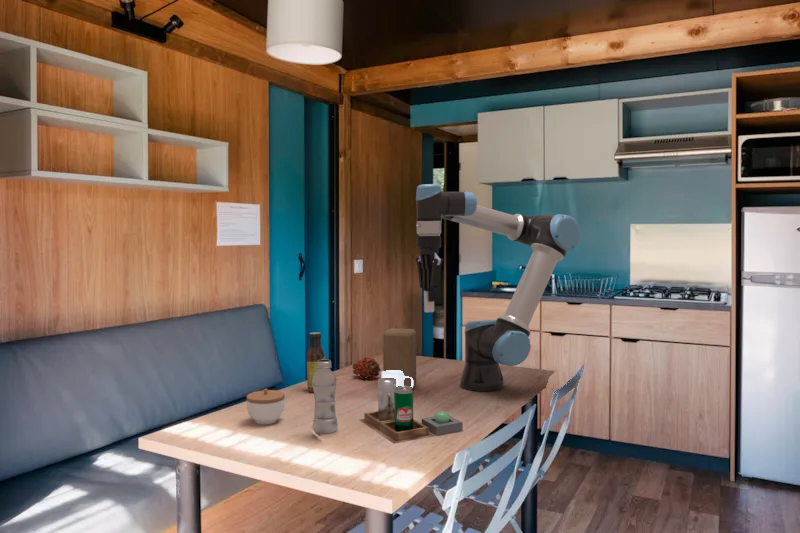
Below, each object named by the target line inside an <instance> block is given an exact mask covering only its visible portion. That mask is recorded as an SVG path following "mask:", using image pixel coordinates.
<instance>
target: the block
mask: <svg viewBox="0 0 800 533" xmlns="http://www.w3.org/2000/svg"><path fill="white" fill-rule="evenodd" d="M382 346H383V347H382V354H383V355H382V356H383V357H382V361H383V362H382V365H383V367H382V368H383V371H386V370H401V371H403V373H404V375H405V376H409V377H412V378H413V380H414V387H415V386H416V384H417V331H416V329H415V328H392V327H390V328H389V329H387V330H386V331H384V332H383V334H382ZM383 371H382V372H383ZM404 386H411V379H410V378H405V380H404Z"/></svg>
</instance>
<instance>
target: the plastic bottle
mask: <svg viewBox="0 0 800 533" xmlns="http://www.w3.org/2000/svg"><path fill="white" fill-rule="evenodd" d="M317 368H318V370H317V372H316V373H315V375H314V376H313V379H312V384H313V390H314V392H313V396H314V397H313V398H314V417H313V423H312V428H313V432H314V433H315V435H318V436H321V435H327V434H329V435H330V434H333V433H336V432H337V431H338V425H339V424H338V419H337V414H336V404H335V403H336V400H335V399H336V390H337V389H336V388H337V377H336V375H335V373H334V372H333V371H332V370H331V368H332V361H331V359H326V358H325V359H323V360H318V361H317Z"/></svg>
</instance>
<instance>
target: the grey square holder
mask: <svg viewBox="0 0 800 533" xmlns="http://www.w3.org/2000/svg"><path fill="white" fill-rule="evenodd" d="M421 424H423V425H425V426H427V427H428V428H429V433H431V434H433V435H434V436H436V437H437V436H442V435H448V434H453V433H459V432H463V430H464V429H463V421H461V420H459V419H456V418H455V417H453V416H450V415H449V422H448V423H442V424H438V423H436V422H435V415H433V416H428V417H423V418H421Z"/></svg>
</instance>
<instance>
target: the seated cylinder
mask: <svg viewBox="0 0 800 533" xmlns="http://www.w3.org/2000/svg"><path fill="white" fill-rule="evenodd" d="M395 388H396V379H394V378H383V377H381V378H378V379H377V411H378V420H379V421H386V420H392V419H394V391H395V390H396V389H395Z"/></svg>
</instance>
